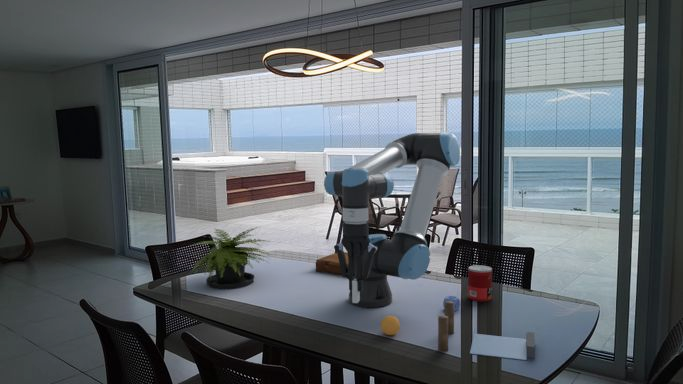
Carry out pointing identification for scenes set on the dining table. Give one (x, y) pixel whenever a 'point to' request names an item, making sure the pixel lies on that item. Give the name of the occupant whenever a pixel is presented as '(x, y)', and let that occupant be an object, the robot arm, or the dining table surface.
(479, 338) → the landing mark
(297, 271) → the dining table surface
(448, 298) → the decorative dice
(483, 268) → the canned food
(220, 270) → the fern plant
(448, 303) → the post
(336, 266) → the brown wooden block
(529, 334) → the stopper wall
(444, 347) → the post
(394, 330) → the ball
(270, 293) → the dining table surface
